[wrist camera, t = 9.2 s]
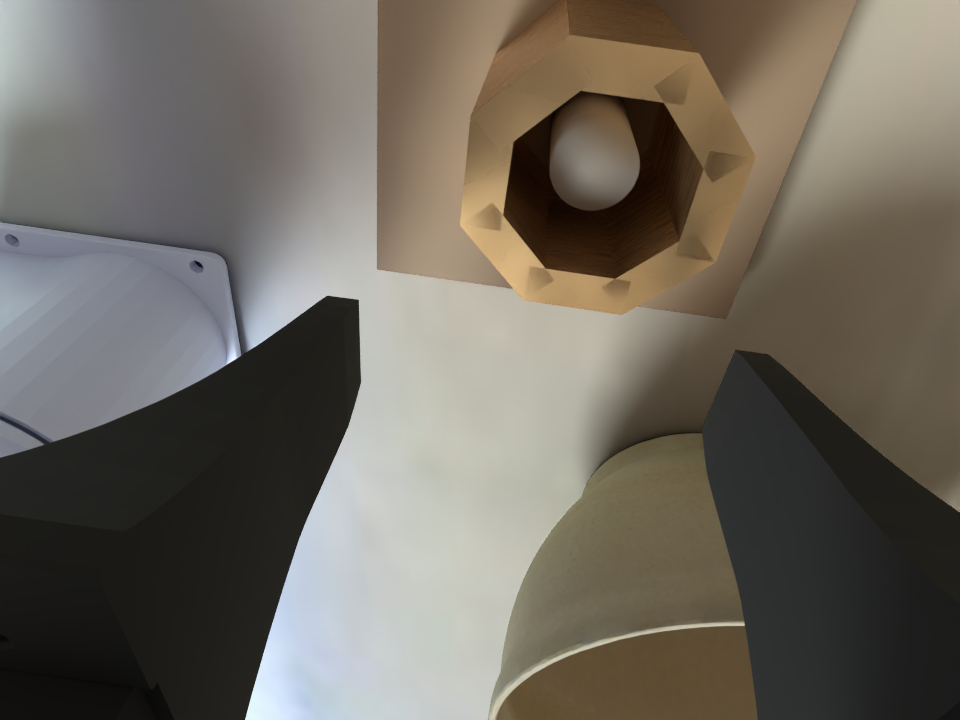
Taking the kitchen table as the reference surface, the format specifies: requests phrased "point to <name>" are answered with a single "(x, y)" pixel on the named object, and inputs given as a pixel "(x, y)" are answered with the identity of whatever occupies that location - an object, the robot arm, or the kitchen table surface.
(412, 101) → the pin block
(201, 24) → the kitchen table surface
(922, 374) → the kitchen table surface
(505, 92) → the octagonal wooden tube
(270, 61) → the kitchen table surface
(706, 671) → the planter bowl
